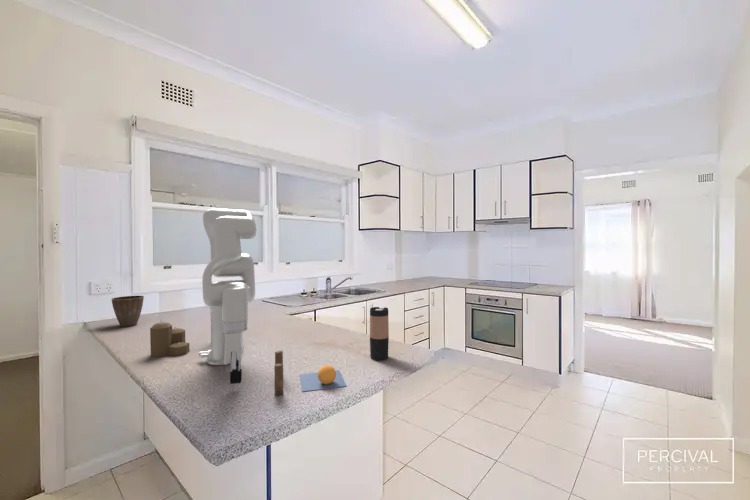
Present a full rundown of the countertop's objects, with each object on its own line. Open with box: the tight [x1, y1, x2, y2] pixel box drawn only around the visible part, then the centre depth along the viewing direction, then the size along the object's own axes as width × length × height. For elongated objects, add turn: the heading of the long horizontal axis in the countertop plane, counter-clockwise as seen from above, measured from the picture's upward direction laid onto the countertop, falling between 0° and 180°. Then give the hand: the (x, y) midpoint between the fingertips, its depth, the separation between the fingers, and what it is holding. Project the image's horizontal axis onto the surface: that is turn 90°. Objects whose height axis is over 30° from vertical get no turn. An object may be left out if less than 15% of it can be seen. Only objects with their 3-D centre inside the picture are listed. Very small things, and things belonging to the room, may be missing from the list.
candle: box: [149, 318, 190, 358], centre depth 143 cm, size 14×14×15 cm
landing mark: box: [299, 369, 347, 393], centre depth 113 cm, size 14×14×1 cm
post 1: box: [274, 350, 284, 365], centre depth 116 cm, size 3×3×9 cm
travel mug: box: [369, 306, 390, 362], centre depth 135 cm, size 8×8×20 cm
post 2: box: [273, 363, 284, 397], centre depth 103 cm, size 3×3×9 cm
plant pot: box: [111, 295, 145, 328], centre depth 191 cm, size 15×15×16 cm
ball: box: [317, 364, 336, 385], centre depth 110 cm, size 6×6×6 cm
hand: (236, 382), depth 106 cm, fingers closed
